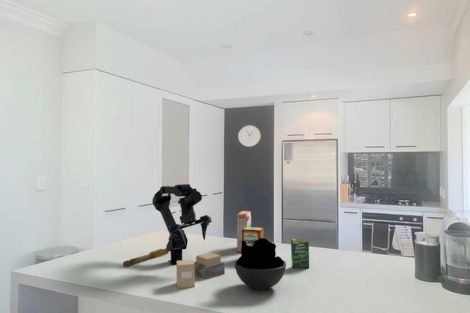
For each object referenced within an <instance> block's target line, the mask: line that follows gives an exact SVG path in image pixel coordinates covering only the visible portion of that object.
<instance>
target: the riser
mask: <svg viewBox="0 0 470 313" xmlns="http://www.w3.org/2000/svg"><path fill="white" fill-rule="evenodd" d="M193 262H194V264H195V276H197V277H201V278H203V279H205V280H210V279H212V278H215V277H218V276H221V275H222V276H223V275H225V273H226V272H225V271H226V270H225V269H226V268H225V266H226V265H225V263H226V262H224V261H221V263H217V264H213V265H210V266H205V265H202V264H199V263H196V261H193Z"/></svg>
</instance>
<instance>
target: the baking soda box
mask: <svg viewBox="0 0 470 313" xmlns="http://www.w3.org/2000/svg"><path fill="white" fill-rule="evenodd" d="M260 238H265V228H264V227H257V226H256V227H252V226H251V227H245V228H243V229H242V241H243V240H244V241H245V242H246V245H248V246H253V244H254V241H257V240H258V239H260Z"/></svg>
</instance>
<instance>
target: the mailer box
mask: <svg viewBox="0 0 470 313" xmlns="http://www.w3.org/2000/svg"><path fill="white" fill-rule="evenodd" d="M194 262H195V261H194V260H193V259H185V260H183V259H182V260H181V261H177V264H176V286H177V288H178V289H185V288H186V289H189V288H194V287H195V280H196V279H195V276H196V275H195V264H194Z"/></svg>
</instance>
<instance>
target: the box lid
mask: <svg viewBox="0 0 470 313" xmlns="http://www.w3.org/2000/svg"><path fill="white" fill-rule="evenodd" d="M195 257H196V258H195V259H196V260H195V262H196V263H199V264H202V265H205V266H210V265H213V264H217V263H221V262H222V261H221V259H222V256H221V255H219V254H216V253H212V252H206V253H203V254H197V255H195Z"/></svg>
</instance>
